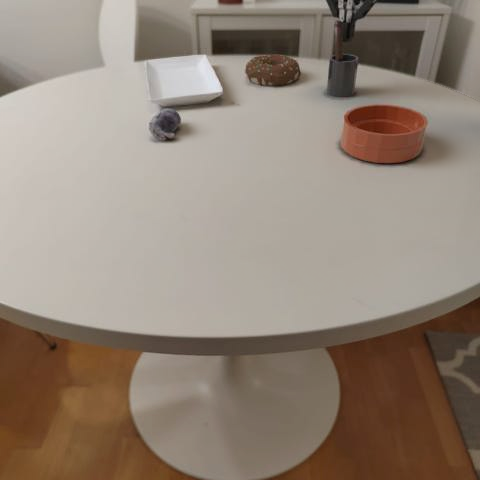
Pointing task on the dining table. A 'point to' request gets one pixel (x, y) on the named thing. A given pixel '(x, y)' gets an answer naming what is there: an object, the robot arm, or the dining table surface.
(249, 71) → the donut
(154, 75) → the tray
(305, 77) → the dining table surface
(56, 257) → the dining table surface
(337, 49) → the stick
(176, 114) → the grey plush toy
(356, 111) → the bowl
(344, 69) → the holder
